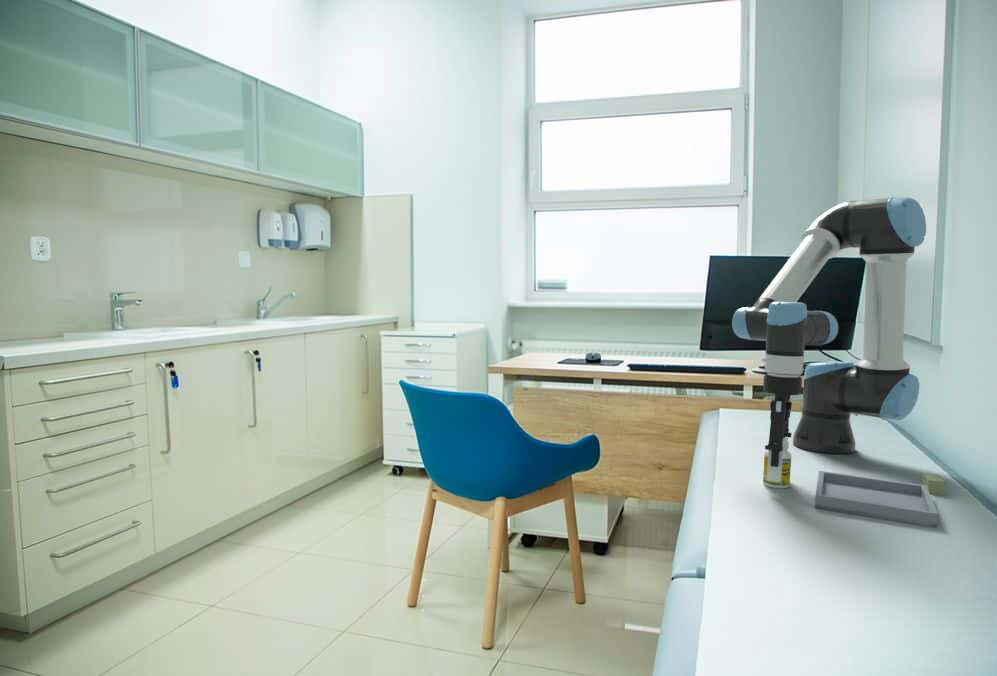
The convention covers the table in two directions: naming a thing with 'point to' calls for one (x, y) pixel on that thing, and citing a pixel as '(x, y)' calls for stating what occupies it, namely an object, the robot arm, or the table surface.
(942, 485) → the olive brick
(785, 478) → the supplement bottle
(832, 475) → the slate tray
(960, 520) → the table surface
